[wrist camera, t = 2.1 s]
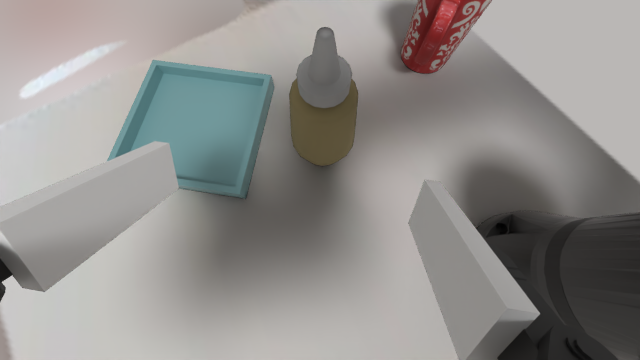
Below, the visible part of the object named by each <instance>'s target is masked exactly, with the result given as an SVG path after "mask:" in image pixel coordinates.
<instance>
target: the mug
mask: <svg viewBox="0 0 640 360" xmlns="http://www.w3.org/2000/svg"><path fill="white" fill-rule="evenodd" d="M491 1H492V0H418V1H417V4H416V7H415V10H414V13H413V16H412V19H411V22H410V25H409V28H408V31H407V34H406V37H405V40H404V43H403V46H402V50H401V57H402V60H403V62H404V63H405V65H406V66H407V67H408V68H410V69H411V70H413V71H415V72H419V73H433V72H436V71H438V70H439V69H441V68H442V67H443V65H444V64H445V63H446V62H447V60H448V59H449V58H450V56H451V55H452V53H453V52H454V51H455V49H456V48H457V47H458V45H459V44H460V43H461V41H462V40H463V39H464V37H465V36H466V35H467V33H468V32H469V31H470V29H471V28H472V27H473V25H474V24H475V23H476V21H477V20H478V19H479V17H480V16H481V15H482V13H483V12H484V11H485V9H486V8H487V7H488V5H489V4H490V3H491Z"/></svg>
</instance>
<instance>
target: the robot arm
mask: <svg viewBox="0 0 640 360" xmlns="http://www.w3.org/2000/svg"><path fill="white" fill-rule="evenodd" d="M178 189H179V186H178V182H177V177H176V172H175V168H174V163H173V158H172V154H171V149H170V145H169V143H165V142H158V141H154V142H152V143H149V144H147V145H145V146H142V147H140V148H138V149H135V150H133V151H130V152H128V153H126V154H123V155H121V156H119V157H116V158H114V159H112V160H109V161H107V162H105V163H102V164H100V165H98V166H95V167H93V168H90V169H88V170H86V171H83V172H81V173H79V174H76V175H74V176H72V177H69V178H67V179H65V180H62V181H60V182H58V183H55V184H53V185H50V186H48V187H46V188H43V189H41V190H39V191H36V192H34V193H32V194H29V195H27V196H25V197H22V198H20V199H18V200H15V201H13V202H10V203H8V204H6V205H3V206H1V207H0V301H1V299H2V297H3V295H4V293H5V288H6V287H5V286H4V285H3V284H2V281H4V280H5V279H7V278H9V277H10V276H12V275H13V277H14V278H15V279H16V280H17V282H18V283H19V284H20V286H21V287H22V288H25V289H31V290H37V291H43V292H45V291H46V290H48V289H49V288H50V287H52V286H53V285H54V284H56V283H57V282H58V281H60V280H61V279H62V278H63V277H65V276H66V275H67V274H69V273H70V272H71V271H73V270H74V269H75V268H76V267H78V266H79V265H80V264H82V263H83V262H84V261H86V260H87V259H88V258H89V257H91V256H92V255H93V254H95V253H96V252H97V251H99V250H100V249H101V248H102V247H104V246H105V245H106V244H108V243H109V242H110V241H112V240H113V239H114V238H115V237H117V236H118V235H119V234H121V233H122V232H123V231H125V230H126V229H127V228H128V227H130V226H131V225H132V224H134V223H135V222H136V221H138V220H139V219H140V218H142V217H143V216H144V215H145V214H147V213H148V212H149V211H151V210H152V209H153V208H155V207H156V206H157V205H158V204H160V203H161V202H162V201H164V200H165V199H166V198H168V197H169V196H170V195H171V194H173V193H174V192H175V191H177V190H178ZM408 224H409V226H410V229H411V232H412V234H413V237H414V240H415V242H416V245H417V248H418V251H419V253H420V256H421V259H422V261H423V264H424V267H425V269H426V272H427V275H428V277H429V280H430V283H431V285H432V288H433V291H434V294H435V296H436V299H437V302H438V304H439V307H440V310H441V312H442V315H443V318H444V320H445V323H446V326H447V328H448V331H449V334H450V337H451V339H452V342H453V345H454V347H455V350H456V353H457V355H458V358H459V360H497V359H498V360H640V212H639V213H629V214H620V215H611V216H602V217H594V218H584V219H581V218H574V217H568V216H562V215H556V214H550V213H544V212H538V211H516V212H510V213H505V214H500V215H497V216H494V217H492V218H489V219H488V220H486V221H485V222H483V223H482V224H481V225H480V226H479V227H478V228H477V229H476V228H475V227H474V226H473V224H472V223H471V222H470V220H469V219H468V218H467V216H466V215H465V214H464V212H463V211H462V210H461V208H460V207H459V206H458V204H457V203H456V202H455V201H454V199H453V198H452V197H451V195H450V194H449V193H448V191H447V190H446V189H445V187H444V186H443V185H442V183H441V182H438V181H431V180H424V182H423V185H422V188H421V191H420V193H419V196H418V199H417V201H416V204H415V207H414V210H413V212H412V215H411V218H410V220H409V223H408Z"/></svg>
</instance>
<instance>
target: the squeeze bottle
mask: <svg viewBox="0 0 640 360" xmlns="http://www.w3.org/2000/svg"><path fill="white" fill-rule="evenodd" d="M296 75H297V78H296V80H295V81H294V82H293V83H292V86H291V90H290V94H289V97H290V118H291V136H292V141H293V146H294V148H295V149H296V151H297V152H298V153H299V155H300V156H301V157H303V158H304V159H306V160H308V161H309V162H311V163H313V164H315V165H320V166H325V165H330V164H333V163H335V162H337V161H339V160H340V159H342V158H343V157H345V156H346V155H347V154H348V152H349V151H350V149H351V148H352V146H353V142H354V135H355V125H356V114H357V103H358V91H357V88H356V84H355V82H354V81H353V80H352V79H351V78H352V72H351V68H350V65H349V64H348V63H347V62H346V61H345V60H344V58H342V57H340V56H338V55H337V49H336V43H335V37H334V32H333V30H332V29H330V28H328V27H322V28H320V29H319V30H318V31H317V34H316V39H315V43H314V48H313V53H312V55H310V56H308V57H307V58H305V59H304V60H303V61H302V62H301V64H300V65H299V67H298V70H297V74H296Z"/></svg>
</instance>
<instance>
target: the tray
mask: <svg viewBox="0 0 640 360" xmlns="http://www.w3.org/2000/svg"><path fill="white" fill-rule="evenodd" d="M273 90H274V84H273V80H272V77H271V75H266V74H258V73H250V72H243V71H235V70H227V69H219V68H211V67H204V66H196V65H188V64H180V63H173V62H165V61H157V60H153V61H152V63H151V66H150V68H149V70H148V72H147V74H146V77H145V79H144V81H143V83H142V85H141V88H140V90H139V92H138V94H137V96H136V98H135V101H134V103H133V105H132V107H131V109H130V112H129V114H128V116H127V118H126V120H125V123H124V125H123V127H122V129H121V131H120V134H119V136H118V138H117V140H116V142H115V145H114V147H113V149H112V151H111V153H110V156H109V158H108V160H107V161H109V160H112V159H114V158H116V157H119V156H121V155H123V154H126V153H128V152H130V151H133V150H135V149H138V148H140V147H142V146H145V145H147V144H149V143H152V142H154V141H158V142H165V143H169V145H170V149H171V154H172V158H173V163H174V168H175V172H176V177H177V182H178V186H179V188H180V189H187V190H193V191H200V192H206V193H213V194H219V195H226V196H232V197H238V198H245V199H246V196H247V192H248V188H249V184H250V181H251V177H252V173H253V169H254V165H255V161H256V157H257V153H258V149H259V145H260V141H261V137H262V133H263V130H264V126H265V122H266V118H267V114H268V110H269V106H270V102H271V98H272V94H273Z"/></svg>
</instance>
